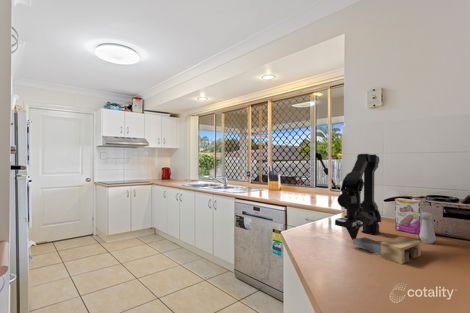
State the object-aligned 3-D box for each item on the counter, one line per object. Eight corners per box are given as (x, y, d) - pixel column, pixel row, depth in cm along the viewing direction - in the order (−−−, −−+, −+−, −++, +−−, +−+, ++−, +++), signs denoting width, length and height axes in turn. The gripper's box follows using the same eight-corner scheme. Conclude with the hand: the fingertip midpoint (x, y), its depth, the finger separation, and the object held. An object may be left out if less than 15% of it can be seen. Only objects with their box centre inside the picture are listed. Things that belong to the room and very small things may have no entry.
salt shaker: (439, 244, 105) (438, 214, 105) (423, 244, 106) (423, 214, 107) (431, 240, 111) (430, 211, 111) (416, 239, 112) (416, 211, 112)
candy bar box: (395, 230, 128) (394, 198, 129) (399, 228, 131) (398, 198, 131) (420, 235, 119) (419, 201, 119) (424, 233, 122) (423, 200, 122)
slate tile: (353, 244, 107) (353, 238, 107) (365, 242, 109) (365, 237, 109) (381, 255, 93) (381, 249, 93) (395, 253, 96) (394, 247, 96)
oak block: (381, 257, 91) (380, 242, 91) (400, 249, 99) (400, 236, 99) (401, 264, 85) (401, 248, 85) (420, 255, 93) (420, 240, 93)
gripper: (358, 209, 97) (359, 249, 96) (383, 205, 107) (384, 241, 106) (334, 205, 106) (334, 241, 106) (358, 201, 116) (359, 235, 116)
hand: (353, 240), depth 108 cm, fingers closed
